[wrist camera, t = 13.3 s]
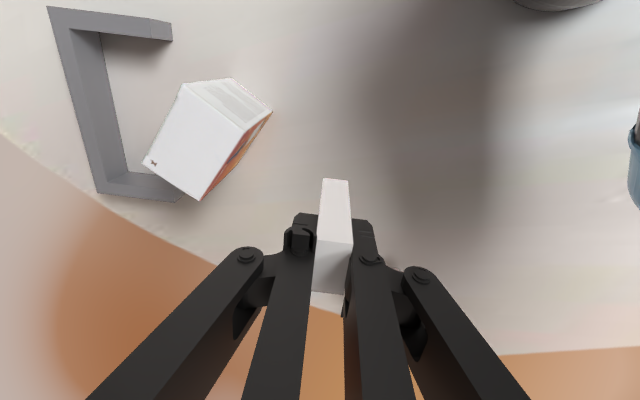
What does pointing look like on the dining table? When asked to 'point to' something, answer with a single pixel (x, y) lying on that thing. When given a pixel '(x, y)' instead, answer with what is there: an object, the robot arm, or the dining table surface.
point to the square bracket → (104, 97)
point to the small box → (205, 134)
